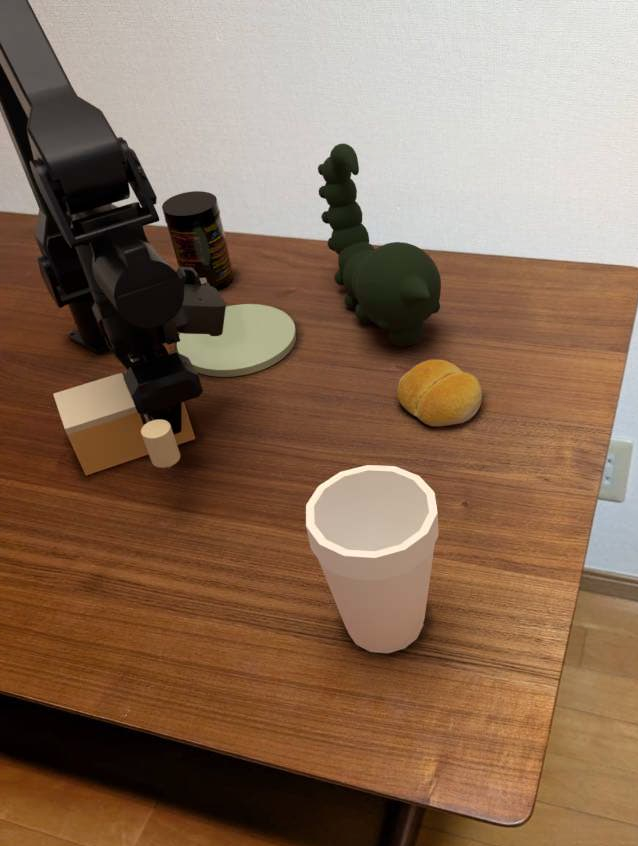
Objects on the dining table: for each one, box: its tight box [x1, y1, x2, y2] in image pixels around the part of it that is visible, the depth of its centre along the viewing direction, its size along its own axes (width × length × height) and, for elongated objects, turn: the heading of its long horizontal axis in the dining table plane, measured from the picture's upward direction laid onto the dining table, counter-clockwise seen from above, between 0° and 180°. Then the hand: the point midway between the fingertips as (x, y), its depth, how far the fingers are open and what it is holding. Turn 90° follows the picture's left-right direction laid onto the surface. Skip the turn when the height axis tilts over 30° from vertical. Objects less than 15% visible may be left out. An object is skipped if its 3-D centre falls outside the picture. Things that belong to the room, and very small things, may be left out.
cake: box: [52, 372, 149, 476], centre depth 84 cm, size 6×7×6 cm
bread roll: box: [396, 359, 483, 427], centre depth 87 cm, size 8×9×4 cm
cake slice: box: [148, 402, 196, 446], centre depth 86 cm, size 6×4×6 cm, turn 26°
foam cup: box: [305, 464, 440, 654], centre depth 64 cm, size 10×9×13 cm
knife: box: [123, 369, 181, 470], centre depth 81 cm, size 17×3×9 cm, turn 26°
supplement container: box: [161, 190, 234, 291], centre depth 105 cm, size 7×7×10 cm
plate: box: [176, 303, 297, 378], centre depth 98 cm, size 14×14×1 cm
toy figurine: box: [317, 143, 442, 347], centre depth 94 cm, size 9×19×25 cm
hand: (167, 415), depth 87 cm, fingers closed on cake slice, 6 cm apart
